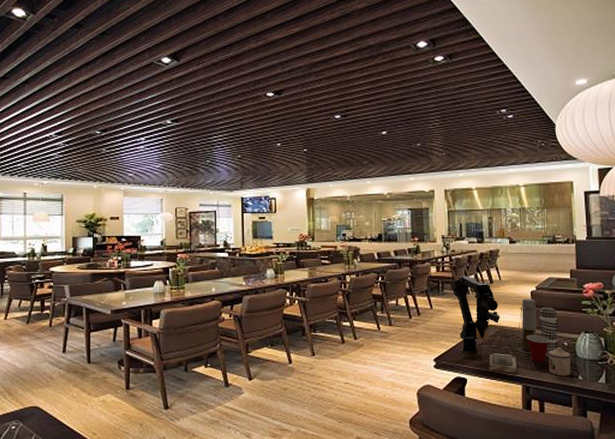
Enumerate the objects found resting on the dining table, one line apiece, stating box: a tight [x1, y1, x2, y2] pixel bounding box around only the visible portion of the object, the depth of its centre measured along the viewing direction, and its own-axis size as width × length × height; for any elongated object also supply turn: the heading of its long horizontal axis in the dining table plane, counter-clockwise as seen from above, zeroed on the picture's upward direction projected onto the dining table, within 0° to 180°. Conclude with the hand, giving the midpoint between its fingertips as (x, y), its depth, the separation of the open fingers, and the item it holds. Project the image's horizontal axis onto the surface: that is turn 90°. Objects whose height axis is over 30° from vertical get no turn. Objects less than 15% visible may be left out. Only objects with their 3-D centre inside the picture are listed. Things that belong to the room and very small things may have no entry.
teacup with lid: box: [548, 347, 571, 376], centre depth 205 cm, size 12×9×12 cm
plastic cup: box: [527, 334, 550, 364], centre depth 224 cm, size 11×11×12 cm
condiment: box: [518, 328, 534, 354], centre depth 242 cm, size 7×8×12 cm
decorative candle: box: [538, 306, 559, 357], centre depth 235 cm, size 9×9×25 cm
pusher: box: [492, 352, 513, 367], centre depth 217 cm, size 8×3×5 cm, turn 66°
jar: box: [476, 326, 490, 341], centre depth 231 cm, size 6×6×6 cm
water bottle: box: [518, 298, 537, 335], centre depth 261 cm, size 9×8×25 cm
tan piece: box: [488, 353, 518, 374], centre depth 217 cm, size 12×18×2 cm
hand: (482, 336), depth 231 cm, fingers closed on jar, 6 cm apart
